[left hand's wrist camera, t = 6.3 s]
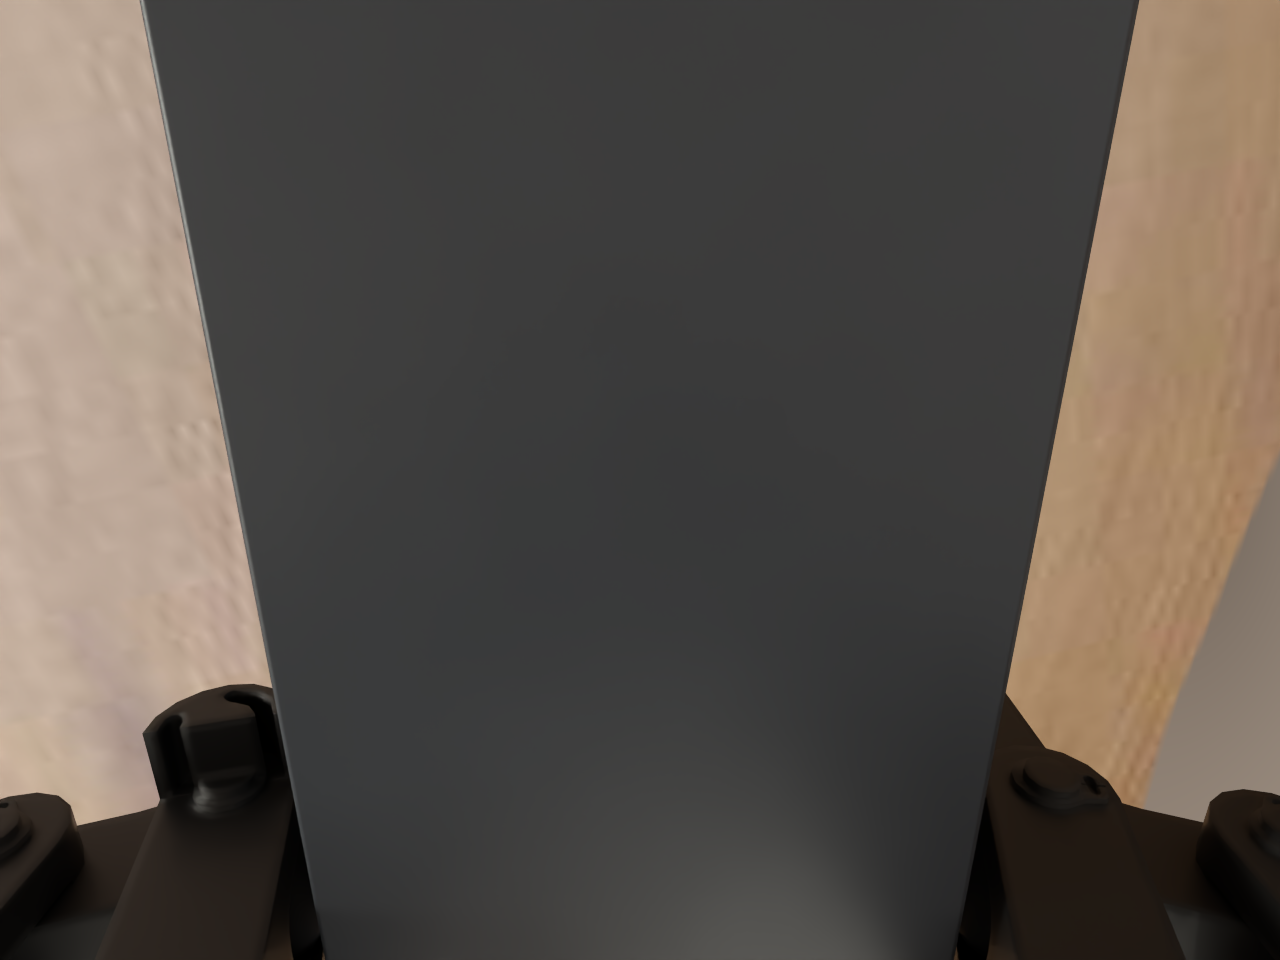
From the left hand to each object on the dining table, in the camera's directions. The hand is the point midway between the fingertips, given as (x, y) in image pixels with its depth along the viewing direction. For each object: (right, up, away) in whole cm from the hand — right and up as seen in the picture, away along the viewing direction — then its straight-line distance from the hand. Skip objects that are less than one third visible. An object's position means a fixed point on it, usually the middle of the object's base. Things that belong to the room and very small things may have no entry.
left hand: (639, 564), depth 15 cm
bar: (0, +8, -2) cm, 8 cm away
